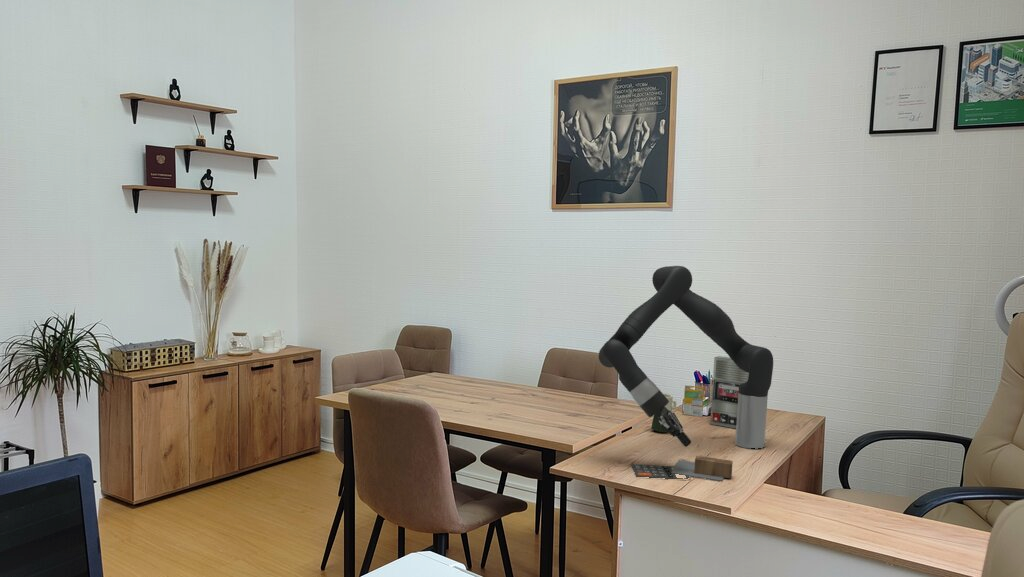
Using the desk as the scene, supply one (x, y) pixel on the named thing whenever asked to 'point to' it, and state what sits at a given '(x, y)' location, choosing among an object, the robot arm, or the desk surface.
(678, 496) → the desk surface
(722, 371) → the cassette tape recorder
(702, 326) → the robot arm
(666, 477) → the calculator
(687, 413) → the crayon box
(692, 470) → the mat
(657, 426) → the character mug
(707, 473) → the block
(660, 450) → the desk surface
